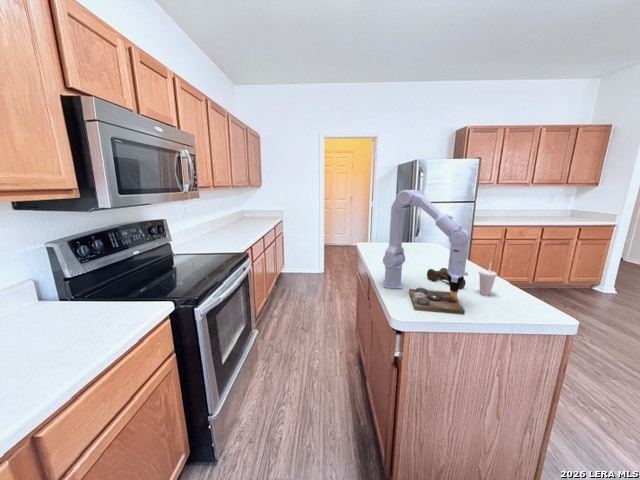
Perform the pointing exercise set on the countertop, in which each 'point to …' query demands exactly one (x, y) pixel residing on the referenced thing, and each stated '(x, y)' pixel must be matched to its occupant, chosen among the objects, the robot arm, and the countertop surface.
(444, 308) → the base
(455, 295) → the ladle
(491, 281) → the smoothie
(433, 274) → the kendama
